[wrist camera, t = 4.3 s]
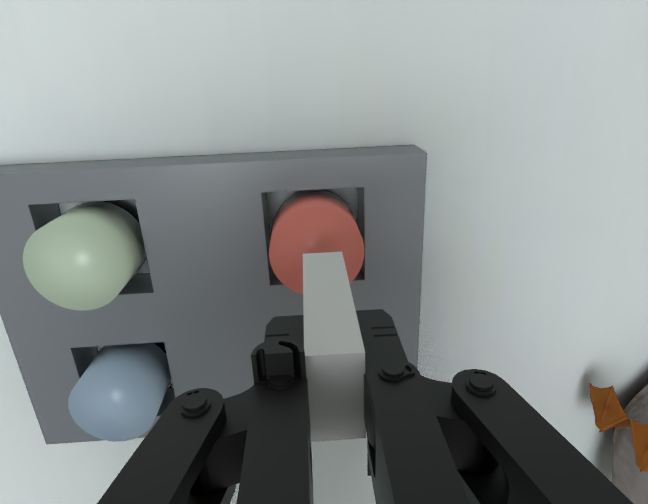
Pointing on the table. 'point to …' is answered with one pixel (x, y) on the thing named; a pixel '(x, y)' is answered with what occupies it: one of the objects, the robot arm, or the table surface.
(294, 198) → the red button
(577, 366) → the table surface
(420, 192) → the button panel
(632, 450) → the decorative duck model
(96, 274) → the sage button
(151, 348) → the slate button
